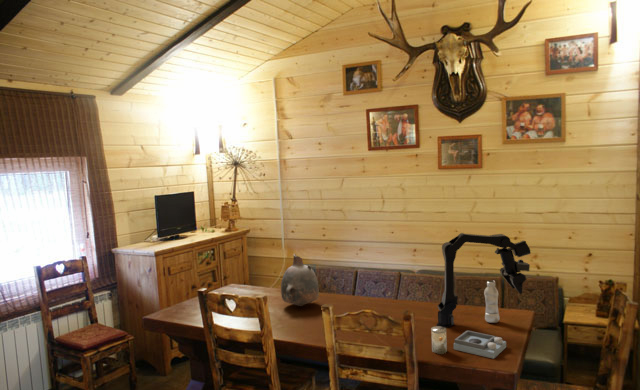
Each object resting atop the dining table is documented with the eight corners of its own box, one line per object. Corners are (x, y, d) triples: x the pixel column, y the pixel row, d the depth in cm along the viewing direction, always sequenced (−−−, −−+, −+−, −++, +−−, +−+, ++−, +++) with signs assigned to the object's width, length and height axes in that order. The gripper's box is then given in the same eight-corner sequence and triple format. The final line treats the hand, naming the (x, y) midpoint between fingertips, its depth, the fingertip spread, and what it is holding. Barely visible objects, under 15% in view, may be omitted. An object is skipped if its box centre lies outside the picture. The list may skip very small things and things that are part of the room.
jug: (319, 312, 259) (316, 257, 257) (279, 314, 259) (276, 259, 257) (319, 299, 283) (317, 249, 281) (283, 300, 284) (281, 251, 281)
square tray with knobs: (453, 349, 201) (453, 338, 201) (467, 338, 212) (467, 328, 211) (493, 358, 190) (493, 347, 190) (506, 347, 200) (506, 336, 200)
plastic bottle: (500, 324, 227) (499, 283, 225) (485, 324, 228) (484, 283, 226) (498, 320, 233) (497, 279, 231) (484, 319, 234) (482, 279, 233)
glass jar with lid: (430, 348, 203) (429, 326, 202) (445, 348, 203) (444, 326, 202) (434, 356, 195) (433, 333, 194) (449, 356, 194) (449, 333, 194)
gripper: (532, 259, 216) (542, 291, 217) (517, 251, 235) (526, 281, 236) (508, 266, 217) (518, 298, 218) (495, 257, 236) (504, 287, 237)
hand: (517, 290), depth 227 cm, fingers open, 9 cm apart
